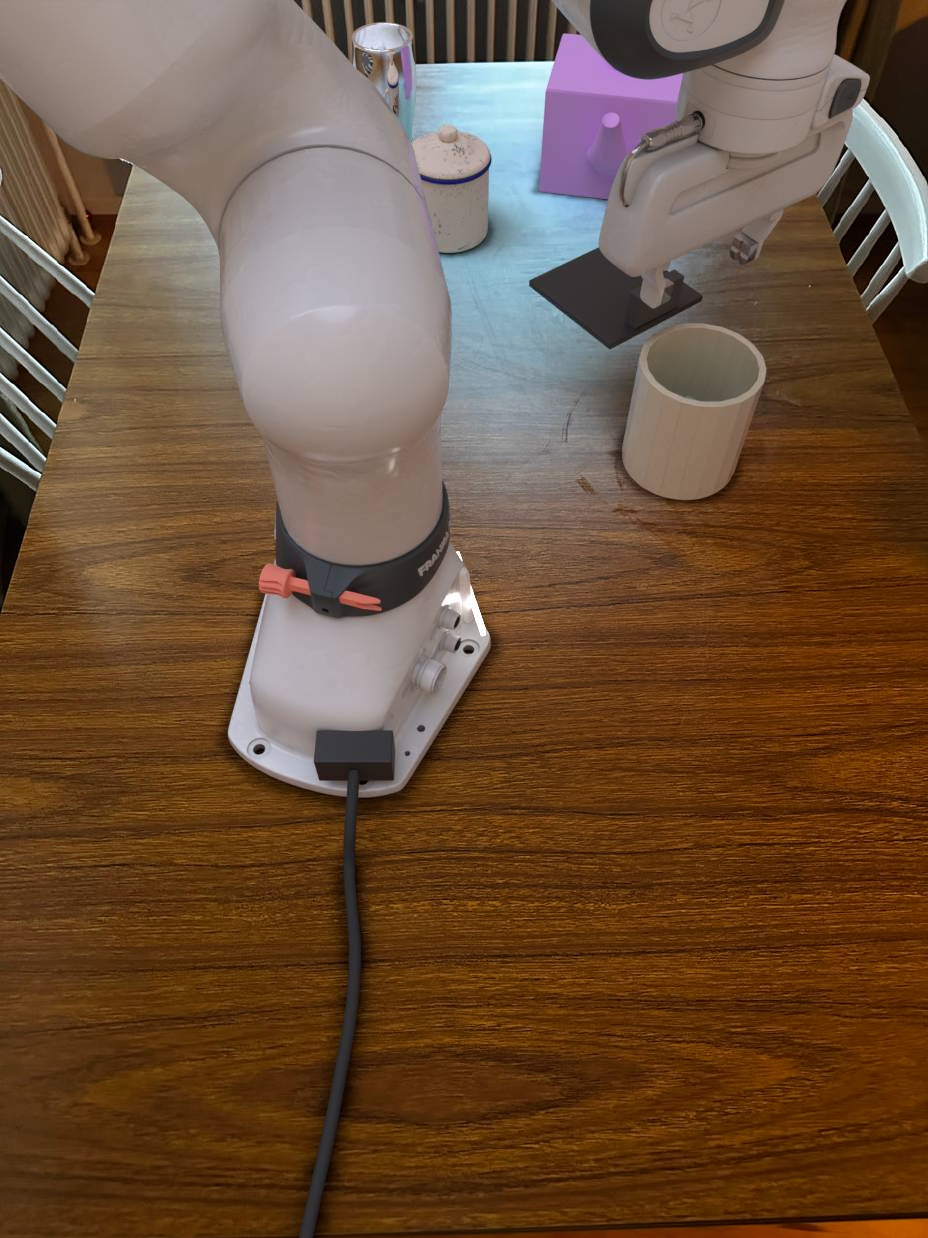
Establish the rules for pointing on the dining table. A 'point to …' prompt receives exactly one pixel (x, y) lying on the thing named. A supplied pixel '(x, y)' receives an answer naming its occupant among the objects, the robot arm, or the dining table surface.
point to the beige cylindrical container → (691, 409)
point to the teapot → (596, 119)
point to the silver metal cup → (389, 66)
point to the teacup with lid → (455, 186)
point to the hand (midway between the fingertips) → (699, 279)
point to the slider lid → (609, 298)
